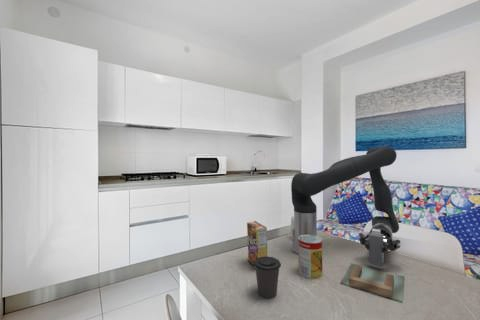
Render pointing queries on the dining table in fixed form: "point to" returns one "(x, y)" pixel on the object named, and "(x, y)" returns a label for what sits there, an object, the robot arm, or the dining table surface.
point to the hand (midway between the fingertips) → (375, 248)
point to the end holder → (374, 281)
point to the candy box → (256, 241)
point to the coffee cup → (267, 276)
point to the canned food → (310, 256)
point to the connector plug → (376, 247)
